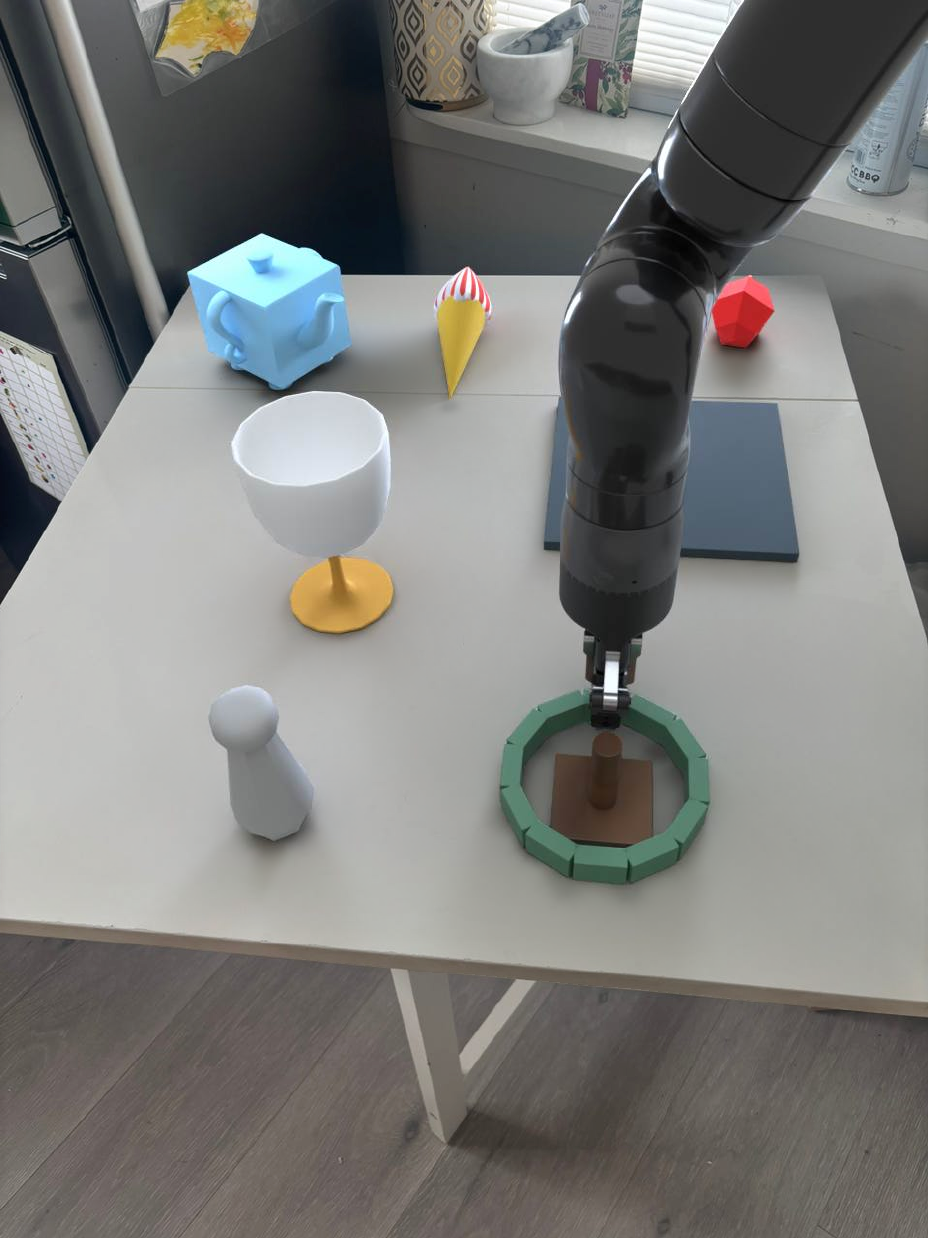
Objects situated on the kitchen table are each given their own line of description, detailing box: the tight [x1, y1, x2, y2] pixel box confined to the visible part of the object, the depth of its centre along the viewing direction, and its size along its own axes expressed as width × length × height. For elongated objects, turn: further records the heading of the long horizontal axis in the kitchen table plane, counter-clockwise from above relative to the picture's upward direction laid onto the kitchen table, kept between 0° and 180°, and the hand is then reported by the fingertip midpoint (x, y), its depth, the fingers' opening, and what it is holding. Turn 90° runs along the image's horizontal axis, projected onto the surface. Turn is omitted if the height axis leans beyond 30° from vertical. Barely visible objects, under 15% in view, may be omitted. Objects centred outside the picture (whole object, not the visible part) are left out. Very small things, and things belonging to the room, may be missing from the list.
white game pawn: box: [208, 685, 315, 842], centre depth 67 cm, size 6×6×13 cm
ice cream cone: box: [432, 266, 493, 400], centre depth 110 cm, size 6×6×20 cm
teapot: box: [186, 233, 352, 391], centre depth 105 cm, size 18×16×13 cm
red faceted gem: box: [711, 274, 775, 349], centre depth 108 cm, size 7×7×8 cm
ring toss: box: [549, 731, 654, 849], centre depth 68 cm, size 7×7×8 cm
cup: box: [230, 390, 395, 634], centre depth 80 cm, size 12×12×17 cm
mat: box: [543, 395, 800, 563], centre depth 94 cm, size 22×22×1 cm
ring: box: [499, 688, 711, 885], centre depth 70 cm, size 14×14×2 cm
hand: (605, 713), depth 75 cm, fingers closed on ring, 1 cm apart
